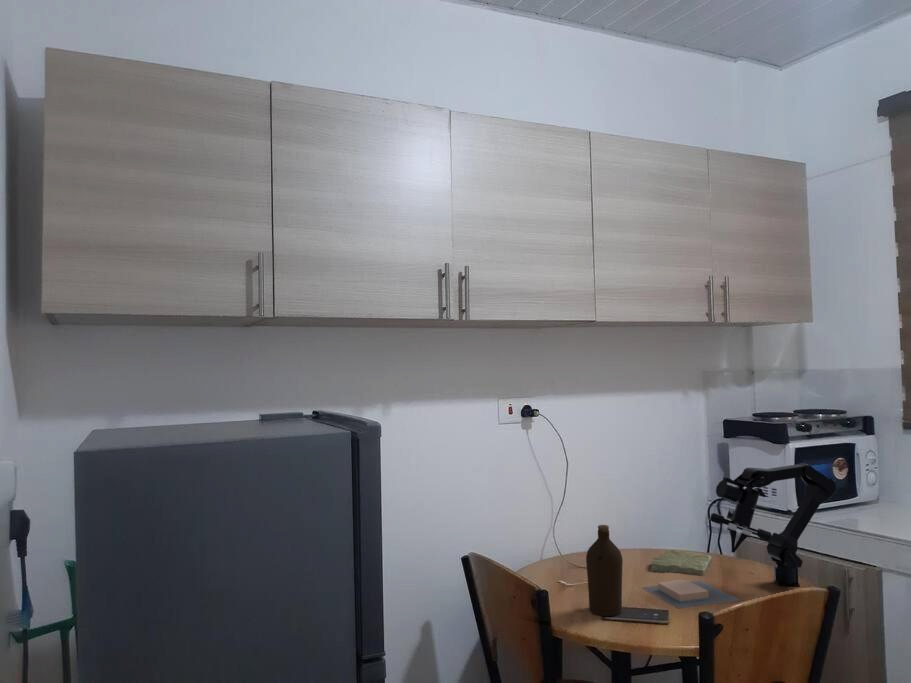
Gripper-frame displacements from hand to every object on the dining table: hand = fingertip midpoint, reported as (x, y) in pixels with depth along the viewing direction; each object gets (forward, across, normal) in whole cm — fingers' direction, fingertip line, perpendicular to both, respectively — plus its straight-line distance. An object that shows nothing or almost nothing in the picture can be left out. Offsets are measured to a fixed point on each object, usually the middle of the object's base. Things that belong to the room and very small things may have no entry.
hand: (732, 552), depth 221 cm
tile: (+14, +8, +9) cm, 18 cm away
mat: (+17, +9, +10) cm, 21 cm away
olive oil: (+27, +31, +30) cm, 51 cm away
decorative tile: (+13, +13, -22) cm, 29 cm away
